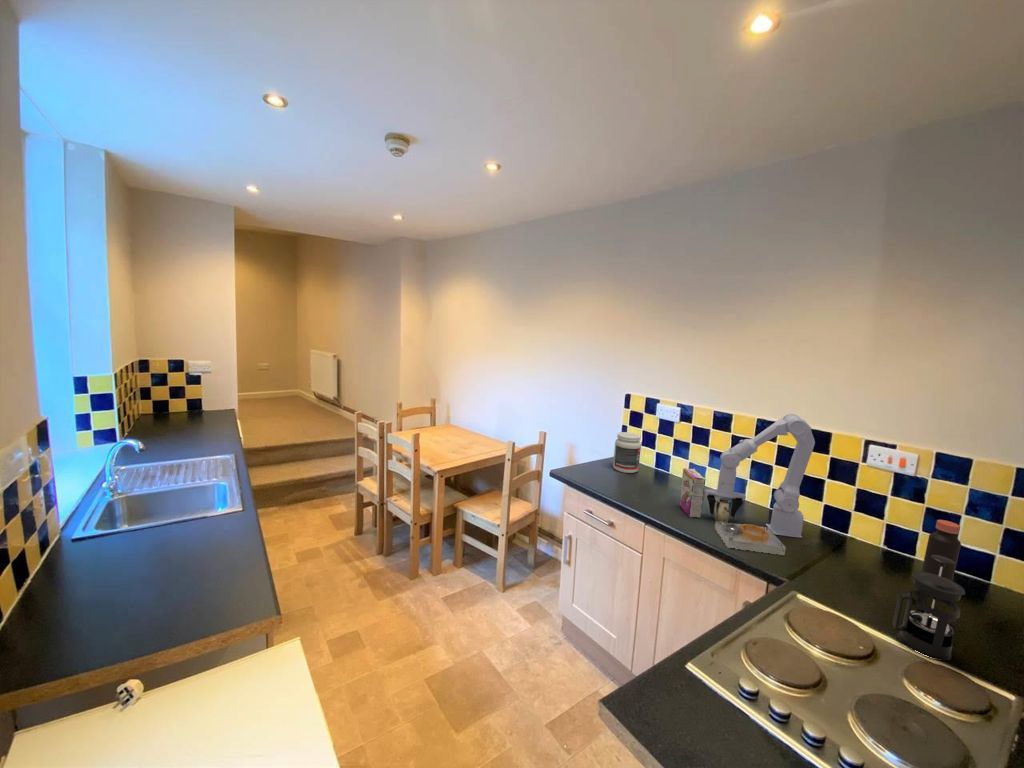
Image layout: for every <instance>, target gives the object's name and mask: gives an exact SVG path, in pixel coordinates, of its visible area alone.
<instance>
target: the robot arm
mask: <svg viewBox="0 0 1024 768" xmlns="http://www.w3.org/2000/svg"><path fill="white" fill-rule="evenodd" d="M789 433H790V434H791V436H792V437H793V438H794V440H795V441H796V445H795V447H794V451H793V454H792V456H791V459H790V461H789V465H788V467H787V470H786V473H785V477H784V479H783V481H782V482H780V484H779V487H778V488H777V489H776V490H775V491H774V493H773V497H774V500H775V503H774V504H773V506H772V507H773V508H772V514H771V520H770V523H765V525H766V526H765V527H767V528H769V529H770V530H771V532H772V533H773V534H774V535H775V536H777V535H778V536H783V537H790V538H791V537H793V538H799V539H800V538H801V539H802V538H803V536H802V532H803V528H804V527H803V526H804V514H803V512H802V511H801V510H799V507H800V502H799V499H800V495H801V494H800V486H801V484H802V481H803V478H804V476H805V473H806V470H807V467H808V464H809V461H810V458H811V457H812V453H813V451H814V447H815V444H816V441H815V438H814V434H813V433H812V427H811V426H810V425H809V424H808V422H806V421H805V420H804V419H802V418H801V417H800V416H798V415H797V414H795V413H789V414H785V415H784V416H783V417H782V418H778V419H777V420H776V421H774V423H772V424H770V425H769V426H768V427H767V428H765V429H764V430H762V431H761V432H760V433H758V434H757V435H755V436H754V437H753V438H751V439H750V438H745V439H741V440H739V442H738V443H737V444H736V445H734V446H733V447H729V448H728V450H724V451H723V452H722V453H721V454H720V456H719V458H720V468H719V473H718V481H717V487H716V488H717V489H705V488H704V496H705V497H706V498H707V503H708V506H709V514H711V515H715V507H716V502H717V499H716V497H717V498H718V497H719V498H726V499H731V506H730V517H732V518H735V515H736V514H737V512H738V510H739V508H741V506H743V504H744V501H746V498H747V497H746V495H745V493H740V492H736V491H734V490H735V485H736V475H737V467H739V466H740V462H743V461H745V460H746V459H747V458H749V457H750V456H752V455H753V454H755V453H757V452H758V447H760V446H761V445H763V444H765V443H767V442H769V441H770V440H772V439H773V438H775V437H778V436H789Z"/></svg>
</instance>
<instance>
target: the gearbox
mask: <svg viewBox="0 0 1024 768" xmlns="http://www.w3.org/2000/svg"><path fill="white" fill-rule="evenodd" d="M714 530H715V531H716V533H717V535H718V534H719V535H718V536H719V538H720V537H721V538H720V539H721V541H722V540H723V541H722V542H723V544H724V543H725V544H724V546H725V547H726V546H727V547H726V548H727V549H730V548H735V549H734V550H738V549H740V550H739V551H746V550H750V551H749V552H753V551H755V553H761V552H763V553H762V554H768V553H770V555H776V554H777V556H785V554H786V549H787V548H786V545H784V544H783V542H782V541H781V540H780V539H779V538H778V537H777V535H775V534H774V533H773V532H772V531H771V530H770V529H769V528H768V527H767V526H759V525H755V524H748V523H743V524H741V523H734V522H727V523H726V522H721V521H717V520H715V523H714Z"/></svg>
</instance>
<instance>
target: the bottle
mask: <svg viewBox="0 0 1024 768" xmlns="http://www.w3.org/2000/svg"><path fill="white" fill-rule="evenodd" d="M935 524H936V525H935V530H936V531H934V532H931V533H930V534H929V535H928V540H927V545H926V548H925V554H924V558H923V562H922V565H921V566H922V567H921V571H920V572H928V573H932V574H935V575H939V572H940V567H941V566H939V563H940V562H938V561H936V560H934V559H932V558H931V555H939V556H943V557H946V558H948V559H951V560H952V561H954V562H955V563H956V565H947V564H945V567H943V568H942V572H941V576H942V577H944V578H947V579H949V580H951V581H953V582H954V578H955V577H954V575H955V572H956V567H957V563H958V559H959V554H960V551H961V546H962V543H961V540H959V538H957V536H959V534H960V529H961V526H960V525H959V524H958V523H955V522H952V521H949V520H944V519H937V520H936V523H935Z"/></svg>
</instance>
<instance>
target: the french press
mask: <svg viewBox="0 0 1024 768" xmlns="http://www.w3.org/2000/svg"><path fill="white" fill-rule="evenodd" d="M931 558H932V559H934V560H936V561H938V562H940V563H939V566H941V567H940V572H939V575H935V574H932V573H928V572H921V571H914V572H912V574H911V575H912V578H913V585H914V587H915V589H910V590H909V591H908V593H907V594H906V593H901V592H899V593H898V596H897V600H896V606H895V609H894V614H893V619H892V620H893V621H892V626H893V627H894V629H896V630H897V631H899V632H898V633H897V636H898V639H899V641H900V642H901V641H902V642H903V643H902V642H901V643H902V644H904V645H905V646H906V645H907V646H908V647H907V646H906V647H907V648H909V647H910V648H912V649H913V650H916V651H918V652H920V653H922V654H924V655H927V656H929V657H932V658H937V659H941V660H948V661H950V660H951V659H952V650H953V647H954V646H953V639H954V635H955V632H956V627H957V622H958V619H959V618H960V617H961V612H962V611H961V608H960V607H959V606H958V605H957V604H956V603H954V602H959V601H960V600H961V598H962V596H965V594H966V590H965V589H964V588H963V586H962V585H960V584H959V583H957V582H955V581H954V580H953V581H951V580H949V579H947V578H944V577H942V576H941V572H942V568H943V567H945V564H947V565H956V566H957V564H956V563H955V562H954V561H952V560H951V559H948V558H946V557H943V556H939V555H931ZM912 595H913V596H914V595H916V596H917V595H918V596H917V599H916V598H914V597H913V596H912ZM928 598H931V599H932V603H931V607H930V606H927V602H928V601H927V600H928ZM904 599H907V602H906V607H905V611H904V616H903V621H902V622H901V625H899V620H900V616H901V612H902V608H903V603H904ZM936 601H939V602H941V603H942V604H945V605H947V606H948V607H950V608H951V609H952V612H946V611H941V610H938V609H935V603H936ZM913 605H914V606H915V608H914V609H915V610H912V607H913ZM949 620H950V621H949ZM948 622H949V624H948ZM917 636H918V637H921V638H924V639H926V640H928V641H930V642H932V643H930V642H929V643H928V642H927V641H924V640H922V639H920V638H918V637H917ZM910 648H909V649H910ZM912 649H911V650H912ZM913 650H912V651H913Z"/></svg>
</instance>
